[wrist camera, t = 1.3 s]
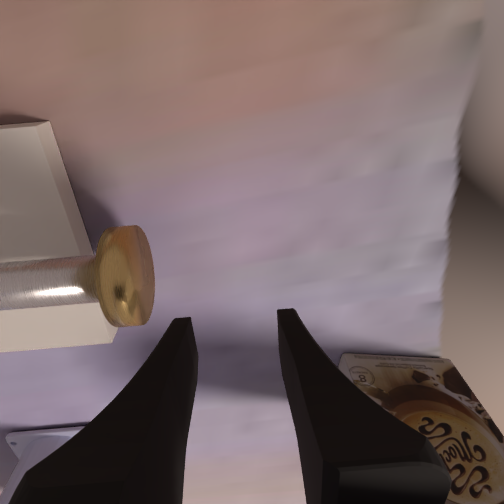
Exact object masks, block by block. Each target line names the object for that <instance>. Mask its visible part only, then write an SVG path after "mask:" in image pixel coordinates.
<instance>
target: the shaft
mask: <svg viewBox="0 0 504 504" xmlns="http://www.w3.org/2000/svg"><path fill="white" fill-rule="evenodd" d="M154 293H155V276H154V265H153V259H152V254H151V249H150V246H149V243H148V240H147V237H146V235H145V233H144V232H143V230H142V229H141V228H140V227H139V226H137V225H132V226H120V227H110V228H107V229H106V230H105V231H104V232H103V234H102V235H101V237H100V240H99V243H98V246H97V251H96V255H86V256H74V257H62V258H50V259H38V260H26V261H14V262H2V263H0V311H2V310H14V309H26V308H38V307H49V306H61V305H73V304H85V303H97V302H99V303H100V307H101V309H102V312H103V314H104V316H105V318H106V319H107V321H108V322H109V323H110V324H111V325H112V326H114V327H127V326H139V325H144V324H146V323H147V321H148V320H149V318H150V316H151V312H152V309H153V303H154Z"/></svg>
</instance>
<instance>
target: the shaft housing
mask: <svg viewBox="0 0 504 504" xmlns="http://www.w3.org/2000/svg"><path fill="white" fill-rule="evenodd" d="M86 255H94V254H93V251H92V248H91V245H90V242H89V238H88V235H87V232H86V229H85V226H84V223H83V220H82V217H81V214H80V211H79V208H78V205H77V202H76V199H75V196H74V193H73V190H72V187H71V184H70V181H69V178H68V175H67V172H66V169H65V166H64V163H63V160H62V157H61V154H60V151H59V148H58V145H57V142H56V139H55V136H54V133H53V130H52V127H51V124H50V121H44V122H32V123H20V124H8V125H0V263H2V262H14V261H26V260H38V259H50V258H62V257H74V256H86ZM117 330H118V327H114V326H112V325H111V324H110V323H109V322H108V321H107V319H106V318H105V316H104V314H103V312H102V309H101V307H100V303H99V302H97V303H85V304H73V305H61V306H49V307H38V308H26V309H14V310H2V311H0V352H12V351H24V350H35V349H47V348H59V347H71V346H82V345H94V344H106V343H112V342H113V339H114V337H115V335H116V332H117Z"/></svg>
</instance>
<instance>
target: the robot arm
mask: <svg viewBox="0 0 504 504" xmlns="http://www.w3.org/2000/svg"><path fill="white" fill-rule="evenodd" d="M277 319H278V341H279V354H280V362H281V370H282V376H283V380H284V384H285V388H286V393H287V397H288V401H289V405H290V409H291V413H292V418H293V422H294V426H295V430H296V435H297V440H298V447H299V454H300V461H301V467H302V474H303V481H304V488H305V495H306V503H307V504H445V502H446V499H447V497H448V494H449V491H450V489H451V483H452V479H451V477H450V474H449V472H448V470H447V468H446V466H445V464H444V462H443V460H442V459H441V457H440V456H439V454H438V453H437V451H436V450H435V448H434V447H433V445H432V444H431V442H430V441H429V439H428V438H427V437H426V436H425V435H423V434H421V433H420V432H418V431H417V430H415V429H413V428H412V427H410V426H409V425H407V424H405V423H404V422H402V421H401V420H399V419H398V418H396V417H395V416H393V415H392V414H391V413H389V412H388V411H386V410H385V409H384V408H382V407H381V406H380V405H379V404H378V403H376V402H375V401H374V400H373V399H371V398H370V397H369V396H368V395H366V394H365V393H364V392H363V391H362V390H360V389H359V388H358V387H357V386H356V385H355V384H354V383H353V382H352V381H351V380H350V379H349V378H347V377H346V376H345V375H344V374H343V373H342V372H341V371H340V369H339V368H338V367H337V366H336V365H335V364H334V363H333V362H332V361H331V360H330V358H329V357H328V356H327V355H326V354H325V353H324V351H323V350H322V349H321V348H320V346H319V345H318V344H317V342H316V341H315V340H314V338H313V337H312V336H311V334H310V333H309V332H308V330H307V329H306V327H305V326H304V324H303V322H302V321H301V319H300V317H299V316H298V314H297V312H296V310H295V309H293V308H291V309H279V310H277ZM197 375H198V352H197V347H196V342H195V337H194V332H193V327H192V322H191V317H185V318H175V319H174V320H173V321H172V322H171V324H170V326H169V327H168V329H167V330H166V332H165V334H164V335H163V337H162V338H161V340H160V341H159V343H158V344H157V346H156V347H155V349H154V350H153V352H152V353H151V354H150V356H149V357H148V359H147V360H146V361H145V363H144V364H143V365H142V367H141V368H140V369H139V370H138V372H137V373H136V374H135V375H134V377H133V378H132V379H131V380H130V382H129V383H128V384H127V385H126V386H125V387H124V389H123V390H122V391H121V392H120V393H119V394H118V395H117V396H116V397H115V398H114V399H113V400H112V402H110V403H109V404H108V405H107V406H106V407H105V408H104V409H103V410H102V411H101V412H100V413H99V414H98V415H97V416H96V417H95V418H94V419H93V420H92V421H91V422H90V423H89V424H87V425H86V426H80V427H69V428H57V429H46V430H34V431H22V432H11V433H8V434H7V436H6V438H5V440H6V442H7V443H8V445H9V446H10V448H11V449H12V451H13V452H14V454H15V455H16V456H17V458H18V459H19V461H18V463H17V465H16V467H15V469H14V470H13V472H12V474H11V476H10V478H9V480H8V482H7V484H6V486H5V487H4V489H3V491H2V493H1V495H0V504H182V499H183V483H184V469H185V456H186V446H187V438H188V432H189V426H190V421H191V415H192V409H193V403H194V397H195V391H196V385H197Z"/></svg>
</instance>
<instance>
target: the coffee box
mask: <svg viewBox="0 0 504 504" xmlns="http://www.w3.org/2000/svg"><path fill="white" fill-rule="evenodd" d="M338 368H339V369H340V371H341V372H342V373H343V374H344V375H345V376H346V377H347V378H349V379H350V380H351V381H352V382H353V383H354V384H355V385H356V386H357V387H358V388H359V389H360V390H362V391H363V392H364V393H365V394H366V395H368V396H369V397H370V398H371V399H373V400H374V401H375V402H376V403H378V404H379V405H380V406H381V407H382V408H384V409H385V410H386V411H388V412H389V413H391V414H392V415H393V416H395V417H396V418H398V419H399V420H401V421H402V422H404V423H405V424H407V425H409V426H410V427H412V428H413V429H415V430H417V431H418V432H420V433H421V434H423V435H425V436H426V437H427V438H428V439H429V441H430V442H431V444H432V445H433V447H434V448H435V450H436V451H437V453H438V454H439V456H440V457H441V459H442V460H443V462H444V464H445V466H446V468H447V470H448V472H449V474H450V477H451V479H452V483H451V489H450V491H449V494H448V497H447V499H446V502H445V504H504V436H503V435H502V433H501V432H500V430H499V429H498V427H497V426H496V425H495V423H494V422H493V420H492V419H491V417H490V416H489V414H488V413H487V412H486V410H485V409H484V407H483V406H482V404H481V403H480V402H479V400H478V399H477V398H476V396H475V395H474V393H473V392H472V390H471V389H470V388H469V386H468V385H467V383H466V382H465V381H464V379H463V377H462V376H461V375H460V373H459V372H458V370H457V369H456V367H455V366H454V365H453V363H452V362H451V360H449V359H443V358H422V357H405V356H386V355H369V354H351V353H343V354H342V357H341V360H340V363H339V366H338Z"/></svg>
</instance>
